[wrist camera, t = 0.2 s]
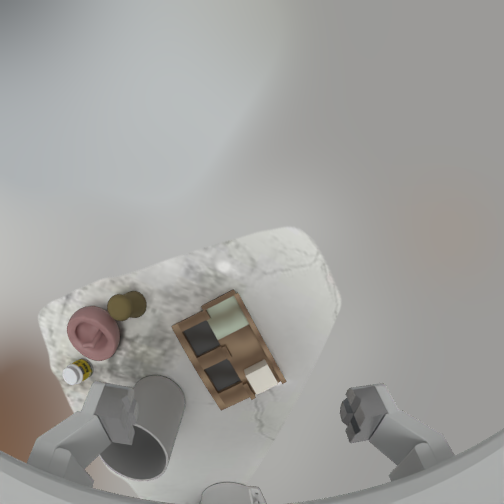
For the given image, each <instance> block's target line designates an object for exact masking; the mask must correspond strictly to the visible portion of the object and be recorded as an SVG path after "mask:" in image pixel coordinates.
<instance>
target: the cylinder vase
mask: <svg viewBox="0 0 504 504" xmlns="http://www.w3.org/2000/svg"><path fill="white" fill-rule="evenodd" d="M133 390H134V397H133V398H134V399H135V400H137V403H138V409H139V412H138V420H137V423H136V424H135V425H133V428H134V431H135V433H134V438H133V442H132V445H127V444H121V443H115V442H111V444H110V445H109V446H108V447H107V448H106V449H105V450H104V451H103V452H102V453H101V454H100V455H99V457H100V458H101V459H102V461H103V462H104V463H105V464H106V465H107V466H108V467H109V468H110V469H111V470H113V471H114V472H116V473H117V474H119V475H121V476H123V477H126V478H129V479H132V480H137V481H149V480H154V479H156V478H158V477H160V476H161V475H162V474H163V473H164V472H165V471H166V469H167V466H168V463H169V460H170V456H171V453H172V449H173V446H174V443H175V439H176V436H177V433H178V429H179V426H180V423H181V419H182V416H183V413H184V409H185V397H184V394H183V392H182V390H181V389H180V388H179V386H178V385H177V384H176V383H174V382H173V381H172V380H170V379H168V378H166V377H163V376H157V375H153V376H147V377H145V378H143V379H141V380H140V381H139V382H138V383H137V384H136V385H135V386H134V387H133Z"/></svg>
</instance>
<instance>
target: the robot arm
mask: <svg viewBox="0 0 504 504" xmlns="http://www.w3.org/2000/svg"><path fill="white" fill-rule="evenodd" d="M346 396H347V398H346V399H345V400H344V401H343V402H342V404H341V407H340V415H341V419H342V422H343V423H344V424H346V425H347V428H346V433H347V436H348V439H349V442H350V443H354V442H360V441H366V440H369V442H370V443H372V444H373V445H374V446H375V447H376V448H377V449H379V450H380V451H381V452H382V453H383V454H384V455H386V456H387V457H388V458H389V459H390V460H391V461H393V462H394V463H395V464H396V465H397V467H396V468H395V469H394V470H393V471H392V472H391V473H390V475H389V477H390V479H391V482H389V483H386V484H382V485H379V486H375V487H372V488H368V489H364V490H360V491H357V492H352V493H348V494H344V495H339V496H334V497H329V498H324V499H318V500H312V501H306V502H298V503H290V504H504V429H502V430H501V431H499V432H497V433H496V434H494V435H493V436H491V437H489V438H488V439H486V440H484V441H482V442H481V443H479V444H477V445H476V446H474V447H472V448H470V449H468V450H466V451H464V452H462V453H460V454H458V455H456V456H455V455H454V453H453V452H452V450H451V448H450V446H449V444H448V442H447V441H446V439H445V437H444V435H443V434H441V433H440V432H438V431H436V430H434V429H433V428H431V427H429V426H428V425H426V424H424V423H423V422H421V421H419V420H418V419H416V418H414V417H413V416H411V415H409V414H408V413H406V412H405V411H403V410H402V411H399V408H398V407H397V405H396V403H395V401H394V399H393V398H392V396H391V394H390V392H389V390H388V388H387V387H386V385H385V384H384V383H380V384H374V385H366V386H360V387H353V388H349V389H348V390H347V392H346ZM133 397H134V390H133V388H132V387H126V386H120V385H115V384H110V383H104V382H99V381H95V382H94V383H93V384H92V386H91V388H90V391H89V393H88V396H87V398H86V400H85V403H84V405H83V408H82V410H81V412H80V411H77V412H76V413H74V414H73V415H71V416H70V417H68V418H67V419H65V420H64V421H62V422H61V423H59V424H58V425H56V426H55V427H53V428H52V429H50V430H49V431H48V432H46V433H44V434H43V435H41V436H40V437H38V438H37V439H36V442H35V444H34V447H33V449H32V452H31V454H30V457H29V459H28V462H27V463H24V462H22V461H20V460H18V459H16V458H14V457H12V456H10V455H8V454H6V453H4V452H2V451H0V504H173V503H165V502H157V501H151V500H145V499H139V498H134V497H129V496H123V495H119V494H115V493H111V492H107V491H103V490H99V489H95V488H92V487H93V483H94V480H93V479H92V478H91V476H90V475H89V474H88V473H87V472H86V471H85V470H84V469H85V468H86V467H87V466H88V465H89V464H90V463H91V462H92V461H93V460H94V459H96V458H97V457H98V456H99V455H100V454H101V453H102V452H103V451H104V450H105V449H106V448H107V447H108V446H109V445H110V444H111V442H115V443H121V444H127V445H132V442H133V438H134V433H135V431H134V428H133V425H135V424H136V423H137V420H138V412H139V409H138V403H137V400H135V399H134V398H133ZM200 504H267V503H266V501H265V499H264V497H263V495H262V493H261V490H260V488H259V487H256V486H244V485H241V484H237V483H218V484H215V485H212V486H210V487H208V488H207V489H206V490H205V491H204V492H203V494H202V500H201V502H200Z"/></svg>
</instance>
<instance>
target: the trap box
mask: <svg viewBox="0 0 504 504" xmlns="http://www.w3.org/2000/svg"><path fill="white" fill-rule="evenodd" d="M201 307H202V309H203V311H201V312H199V313H197V314H195V315H193V316H191V317H189V318H187V319H185V320H183V321H181V322H179V323H177V324H175V325H173V326H172V329H173V331H174V332H175V334H176V336H177V338H178V340H179V342H180V343H181V345H182V347H183V349H184V350H185V352H186V354H187V356H188V357H189V359H190V361H191V363H192V364H193V366H194V368H195V369H196V371H197V373H198V374H199V376H200V378H201V379H202V381H203V383H204V384H205V386H206V388H207V389H208V391H209V392H210V394H211V396H212V397H213V399H214V400H215V402H216V403H217V405H218V406H219V408H220V410H223V409H226V408H228V407H230V406H232V405H234V404H236V403H238V402H241V401H243V400H245V399H247V398H249V397H250V398H251V400H252V399H254V398H256V397H255V394H256V393H255V391H254V389H253V388H252V386H251V384H250V383H249V381H248V379H247V378H246V376H245V372H244V369H246V368H248V367H250V366H252V365H254V364H256V363H258V362H260V361H262V360H264V359H265V361H266V363H267V365H268V366H269V368H270V370H271V372H272V373H273V375H274V377H275V379H276V381H277V382H280V381H281V382H282V384H283V383H285V382H286V380H285V378H284V376H283V374H282V373H281V371H280V369H279V367H278V366H277V364H276V362H275V360H274V358H273V357H272V355H271V353H270V351H269V349H268V347H267V346H266V344H265V342H264V340H263V338H262V336H261V335H260V333H259V331H258V329H257V327H256V325H255V324H254V322H253V320H252V318H251V316H250V314H249V312H248V311H247V309H246V307H245V305H244V303H243V301H242V299H241V297H240V295H239V294H238V293H235V291H234V290H231V291H229V292H227V293H226V294H224V295H222V296H220V297H218V298H216V299H214V300H212V301H210V302H208V303H206V304H204V305H202V306H201Z"/></svg>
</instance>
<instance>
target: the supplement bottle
mask: <svg viewBox="0 0 504 504" xmlns="http://www.w3.org/2000/svg"><path fill="white" fill-rule="evenodd" d="M92 373H93V367H92V365H91V363H90V362H89V361H88V360H86V359H80V360H78V361H76V362H74V363H71V364H69V365H68V366H67V368H65V369H64V370H63V378H64V380H65V381H66V382H67V383H68V384H70V385H74V384H78V383H81V382H82V381H84V380H85V379H87V378H88V377H90V376H91V375H92Z"/></svg>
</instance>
